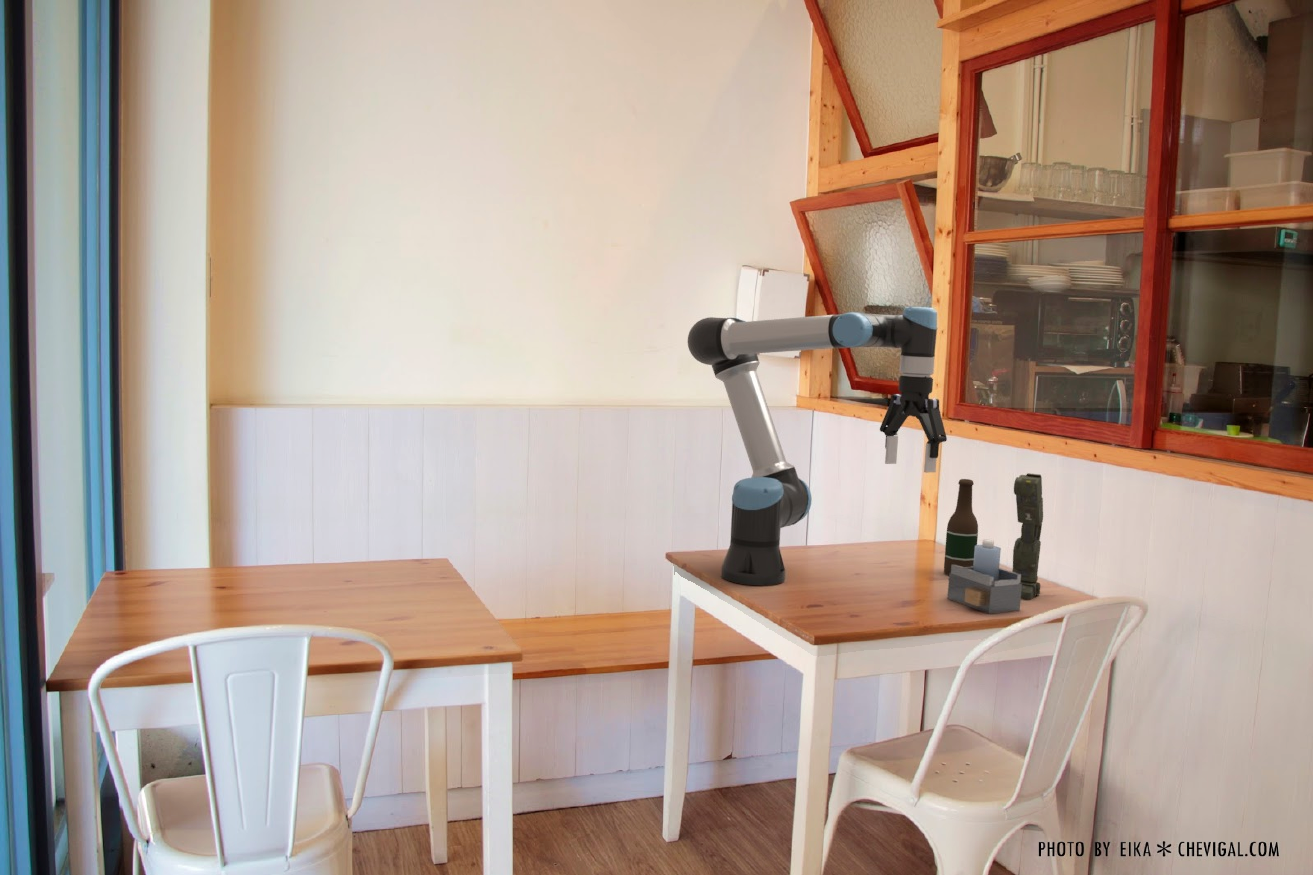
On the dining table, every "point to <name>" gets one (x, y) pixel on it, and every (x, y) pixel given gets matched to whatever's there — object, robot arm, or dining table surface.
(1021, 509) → the mechanical leg
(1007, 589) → the open grey metal box
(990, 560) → the light blue bottle
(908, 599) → the dining table surface
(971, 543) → the beer bottle
